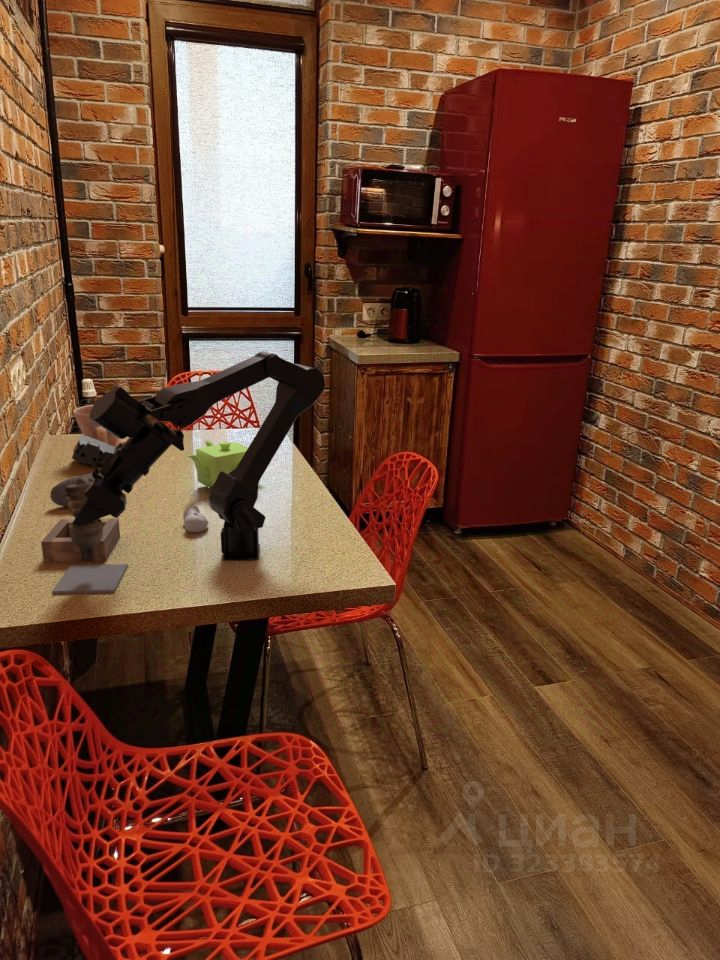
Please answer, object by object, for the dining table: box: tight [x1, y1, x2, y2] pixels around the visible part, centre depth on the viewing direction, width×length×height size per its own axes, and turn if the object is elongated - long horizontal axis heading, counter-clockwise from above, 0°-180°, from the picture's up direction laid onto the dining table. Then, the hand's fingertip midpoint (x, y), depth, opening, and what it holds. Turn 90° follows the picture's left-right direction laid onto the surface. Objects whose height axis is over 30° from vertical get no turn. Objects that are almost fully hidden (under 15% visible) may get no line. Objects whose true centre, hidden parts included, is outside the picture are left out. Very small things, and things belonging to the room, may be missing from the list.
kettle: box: [185, 439, 249, 489], centre depth 166 cm, size 15×14×11 cm
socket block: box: [40, 518, 121, 563], centre depth 131 cm, size 11×11×4 cm
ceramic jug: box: [72, 404, 128, 453], centre depth 183 cm, size 18×14×14 cm
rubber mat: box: [51, 563, 129, 595], centre depth 120 cm, size 10×10×1 cm
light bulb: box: [65, 477, 103, 562], centre depth 117 cm, size 6×6×15 cm
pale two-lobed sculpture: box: [182, 504, 210, 534], centre depth 143 cm, size 4×8×5 cm
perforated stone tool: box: [49, 472, 93, 508], centre depth 154 cm, size 15×5×7 cm, turn 116°
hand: (77, 518), depth 116 cm, fingers closed on light bulb, 5 cm apart
